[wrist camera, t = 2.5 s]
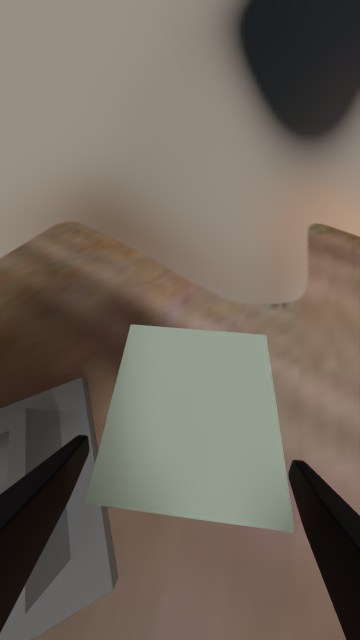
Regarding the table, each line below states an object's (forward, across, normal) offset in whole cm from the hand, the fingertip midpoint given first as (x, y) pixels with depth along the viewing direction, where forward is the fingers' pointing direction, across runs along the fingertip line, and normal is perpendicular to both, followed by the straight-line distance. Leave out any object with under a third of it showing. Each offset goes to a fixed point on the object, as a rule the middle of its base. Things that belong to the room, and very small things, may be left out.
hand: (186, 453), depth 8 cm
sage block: (+8, 0, +5) cm, 9 cm away
